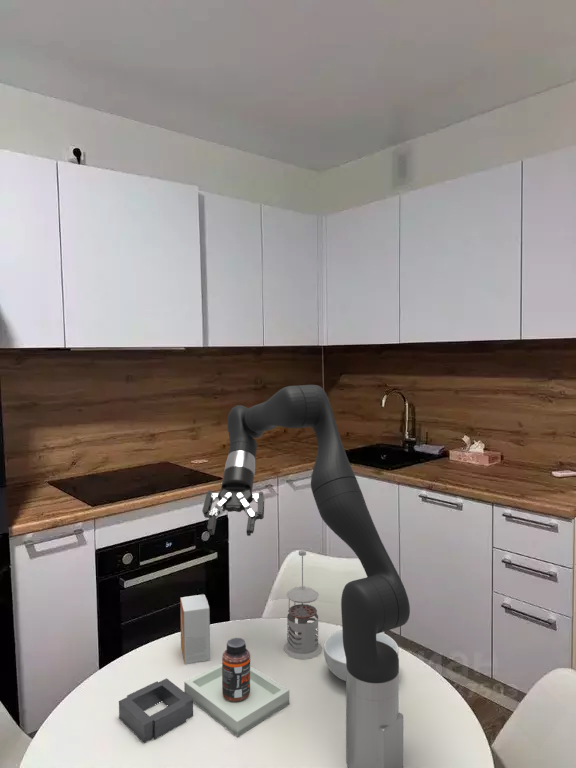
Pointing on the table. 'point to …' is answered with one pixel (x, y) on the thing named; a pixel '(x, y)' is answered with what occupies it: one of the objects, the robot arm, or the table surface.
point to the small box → (195, 629)
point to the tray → (238, 714)
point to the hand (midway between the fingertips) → (230, 533)
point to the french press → (302, 623)
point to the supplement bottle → (236, 670)
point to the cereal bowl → (337, 655)
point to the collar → (162, 720)
